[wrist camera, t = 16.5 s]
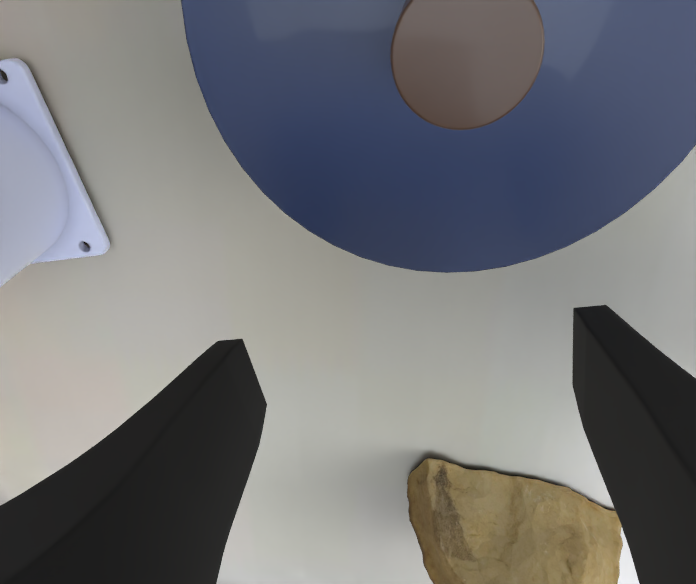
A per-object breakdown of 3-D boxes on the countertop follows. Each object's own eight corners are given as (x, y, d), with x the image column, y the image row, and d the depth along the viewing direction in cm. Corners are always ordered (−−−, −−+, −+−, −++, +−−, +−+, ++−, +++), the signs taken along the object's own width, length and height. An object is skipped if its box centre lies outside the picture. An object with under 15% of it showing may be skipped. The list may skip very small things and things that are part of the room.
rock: (347, 516, 28) (454, 634, 31) (416, 621, 20) (555, 771, 22) (490, 376, 30) (580, 496, 33) (606, 418, 22) (714, 575, 25)
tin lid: (272, 274, 17) (227, 370, 13) (112, -256, 11) (-63, -369, 7) (707, 227, 14) (808, 328, 10) (826, -498, 8) (1173, -881, 4)
